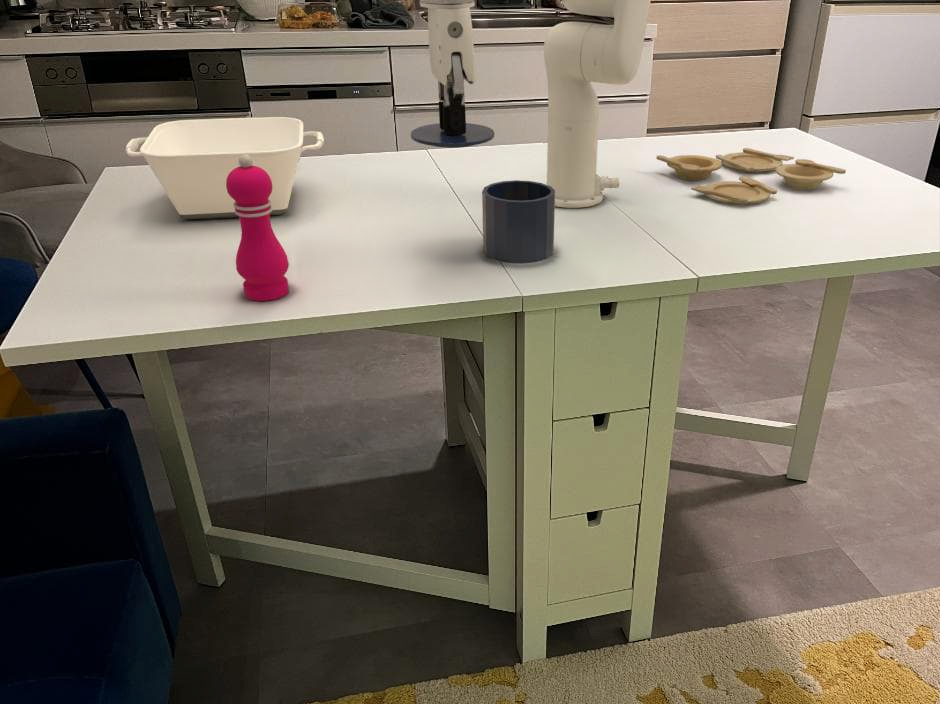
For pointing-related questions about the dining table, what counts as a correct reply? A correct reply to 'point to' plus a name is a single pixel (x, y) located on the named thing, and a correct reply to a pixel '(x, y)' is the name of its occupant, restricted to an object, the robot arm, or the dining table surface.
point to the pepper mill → (257, 234)
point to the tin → (518, 221)
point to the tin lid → (452, 136)
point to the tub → (222, 160)
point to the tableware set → (749, 189)
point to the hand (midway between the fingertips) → (452, 130)
